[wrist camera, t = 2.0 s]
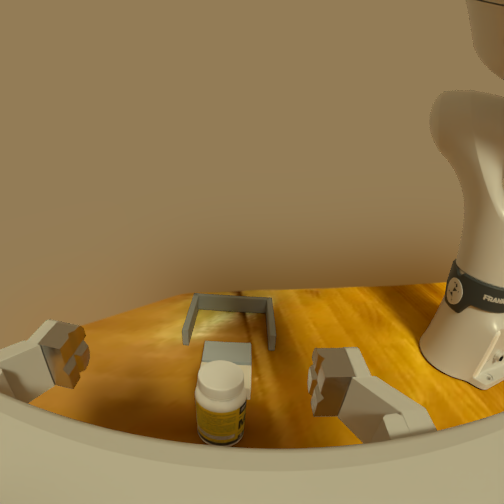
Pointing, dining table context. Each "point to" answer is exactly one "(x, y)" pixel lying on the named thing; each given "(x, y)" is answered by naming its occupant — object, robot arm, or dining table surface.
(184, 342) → the grey u-shaped frame
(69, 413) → the dining table surface
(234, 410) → the supplement bottle
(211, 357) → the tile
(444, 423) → the dining table surface
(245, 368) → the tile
